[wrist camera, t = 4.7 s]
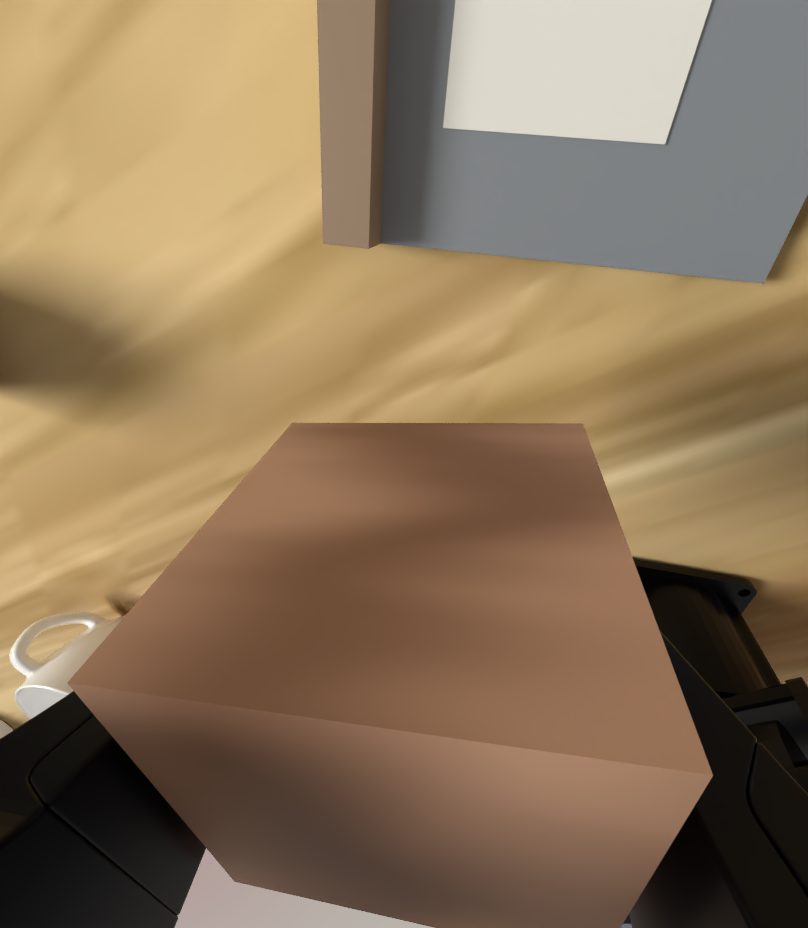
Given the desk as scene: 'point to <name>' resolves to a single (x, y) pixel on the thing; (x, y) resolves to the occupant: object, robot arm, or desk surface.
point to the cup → (55, 659)
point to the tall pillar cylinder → (4, 729)
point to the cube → (413, 681)
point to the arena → (567, 129)
